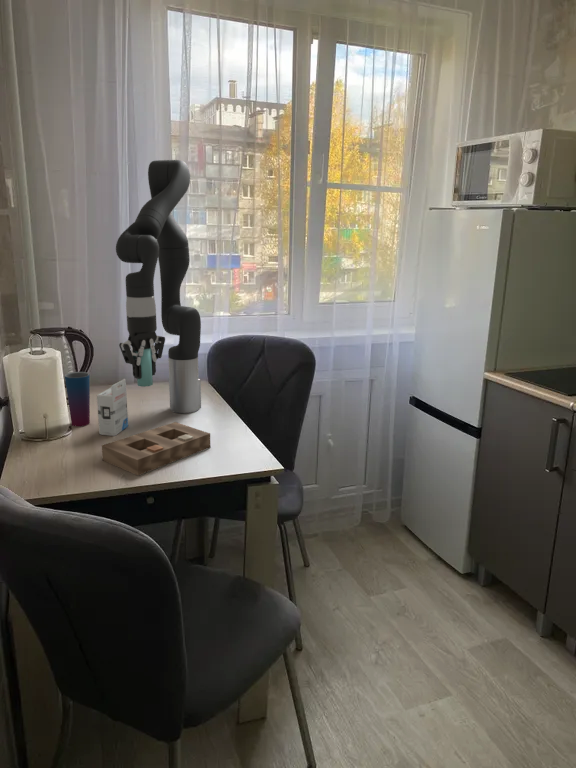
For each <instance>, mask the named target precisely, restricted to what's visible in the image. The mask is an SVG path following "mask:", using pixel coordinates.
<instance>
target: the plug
mask: <svg viewBox="0 0 576 768" xmlns="http://www.w3.org/2000/svg"><path fill="white" fill-rule="evenodd" d="M136 353H138V352H137V351H136ZM140 365H141V375H142V378H141V379H137V378H136V379H137V383H136V384H137V386H138V387H142V388H143V387H151V386H153V383H154V381H153V376H152V359H151V349H150V348H149V349H144V351H143V356H142V357H141V362H140Z"/></svg>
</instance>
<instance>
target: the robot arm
mask: <svg viewBox="0 0 576 768" xmlns="http://www.w3.org/2000/svg"><path fill="white" fill-rule="evenodd" d="M147 169H148V170H147V179H148V186H149V192H150V198H151V199H149V200H148V201H147V202H146V203H144V205H143V206H142V207H141V209H140V210H139V213H138V214H137V216H136V218H135V221H134V222H132V223H131V224H130V225H129V226H128V227H127V228H126V229H125V230H124V231H123V232H122V233H121V234H120V236H118V238H117V240H116V244H115V252H116V256H117V257H118V259H119V260H120V261H122V262H123V263H128V264H142V266H141V269H139V271H135V272H129V273H128V274H126V276H125V293H126V294H125V296H126V298H125V299H126V301H125V309H126V310H125V313H126V329H127V332H128V339H127V340H126V341H125V342H120V343H119V344H118V345H119V349H120V352H121V355H122V357H123V360H124V362H125V363H126V364H130V365H132V375H133V377H134V379H141V378H142V375H141V365H140V362H141V357H142V356H143V351H144V349H149V348H150V349H151V359H152V377H153V376H155V375H156V371H157V369H156V368H157V367H156V366H157V364H156V362H157V360H159V359H161V358H162V356H163V351H164V347H165V343H166V337H165V336H161V335H157V329H158V326H157V308H156V307H157V306H156V299H155V286H154V285H155V284H154V279H155V273H156V268H157V263H158V266H159V275H160V278H159V279H160V293H161V297H160V298H161V300H160V302H161V303H160V306H161V307H160V308H161V311H160V313H161V314H160V316H161V324H162V328H163V330H164V331H165V332H166V333H167V334H169V335H173V336H179V337H178V344H177V345H174V346H171V347H169V349H168V354H167V355H168V359H167V360H168V380H169V381H168V384H169V385H168V386H169V389H168V390H169V410H170V411H171V412H172V413H178V414H188V413H189V414H190V413H194V412H197V411H198V410H199V409H200V408H202V386H201V385H202V380H201V379H200V378H199V350H200V347H201V335H202V334H201V332H202V331H201V328H202V324H201V323H202V322H201V315H200V313H199V311H198V310H197V309H196V308H195V307H190V306H185V305H184V306H183V305H182V303H181V286H182V283H183V281H184V279H185V277H186V274H187V273H188V271H189V270H188V269H189V267H190V263H191V262H190V249H189V246H190V245H189V240H188V238H187V236H186V233H185V232H184V230H183V229H182V228H181V226H180V225H179V223H178V222H177V221H176V219H175V217H174V216H173V214H172V211H173V210H174V209H175V207H176V206H178V204H179V202H180V201H181V200H182V198H183V197H184V196H185V194H186V193H187V191H188V189H189V187H190V184H191V173H190V168H189V166H188V164H187V163H186V162H185V161H184V160H179V159H164V160H153V161H151V162H149V165H148V168H147ZM136 351H137V352H138V353H136Z"/></svg>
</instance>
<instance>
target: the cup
mask: <svg viewBox="0 0 576 768" xmlns="http://www.w3.org/2000/svg"><path fill="white" fill-rule="evenodd" d="M90 377H91V376H90V373H89V372H85V371H74V372H68V373H65V374H64V379H65V380H64V381H65V388H66V394H67V402H68V408H69V414H70V415H69V416H70V423H71V425H72V426H73V427H77V428H78V427H86V426H88V425H90V422H91V421H90V413H91V412H90V405H91V402H90V399H91V398H90V397H91V396H90V382H91V381H90Z"/></svg>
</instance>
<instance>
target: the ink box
mask: <svg viewBox="0 0 576 768" xmlns="http://www.w3.org/2000/svg"><path fill="white" fill-rule="evenodd" d="M127 396H128V395H127V380H126V378H123V379H121V380H119V381H118V382H116V383H114V384H112V385H111V387H109V388H107V389H106V390H104V391H102V392H101V393H98V394H96V405H97V417H98V430H99V431H98V433H99V435H103V436H111V437H115V436H117V435H118V434H119V433H121V432H122V431H124V430H125V429H126V428H128V427H129V418H128V416H129V415H128V413H129V412H128V397H127Z"/></svg>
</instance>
